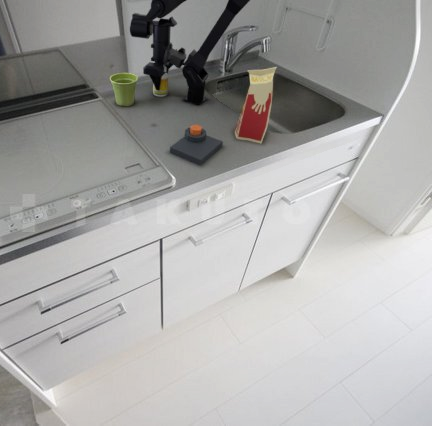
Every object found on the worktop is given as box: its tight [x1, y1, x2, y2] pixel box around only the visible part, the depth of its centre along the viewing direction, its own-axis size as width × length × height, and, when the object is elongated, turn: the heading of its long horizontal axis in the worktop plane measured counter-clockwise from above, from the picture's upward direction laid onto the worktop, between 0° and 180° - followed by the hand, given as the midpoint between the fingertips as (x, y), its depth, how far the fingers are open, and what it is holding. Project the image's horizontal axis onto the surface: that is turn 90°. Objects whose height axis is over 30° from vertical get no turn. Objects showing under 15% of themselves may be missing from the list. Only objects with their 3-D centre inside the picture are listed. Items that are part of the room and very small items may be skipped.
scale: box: [169, 126, 224, 166], centre depth 85 cm, size 12×10×4 cm
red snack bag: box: [234, 66, 278, 145], centre depth 87 cm, size 9×9×20 cm
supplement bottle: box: [152, 66, 169, 98], centre depth 110 cm, size 5×5×10 cm
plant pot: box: [109, 72, 139, 107], centre depth 104 cm, size 9×9×9 cm
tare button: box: [190, 124, 203, 135], centre depth 86 cm, size 3×3×2 cm
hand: (160, 87), depth 112 cm, fingers closed on supplement bottle, 5 cm apart
